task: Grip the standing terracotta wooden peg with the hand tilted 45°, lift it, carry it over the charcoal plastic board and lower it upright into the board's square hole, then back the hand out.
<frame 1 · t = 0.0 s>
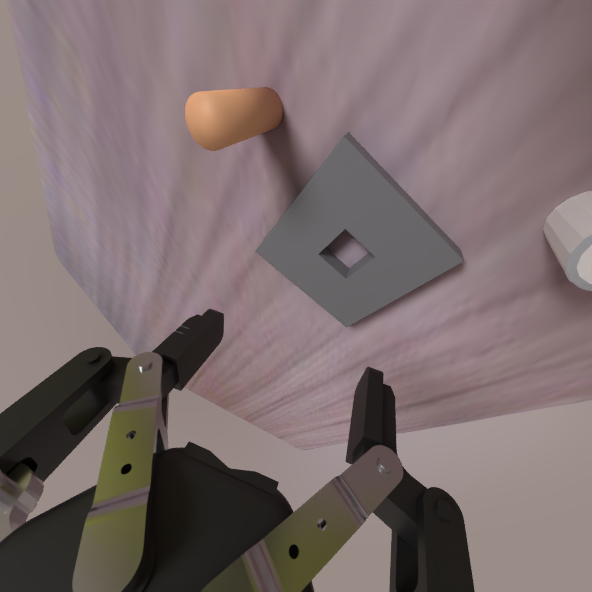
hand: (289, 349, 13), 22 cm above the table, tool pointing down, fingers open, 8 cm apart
peg board: (349, 246, 33), on the table
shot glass: (582, 219, 24), on the table
peg: (266, 109, 26), on the table
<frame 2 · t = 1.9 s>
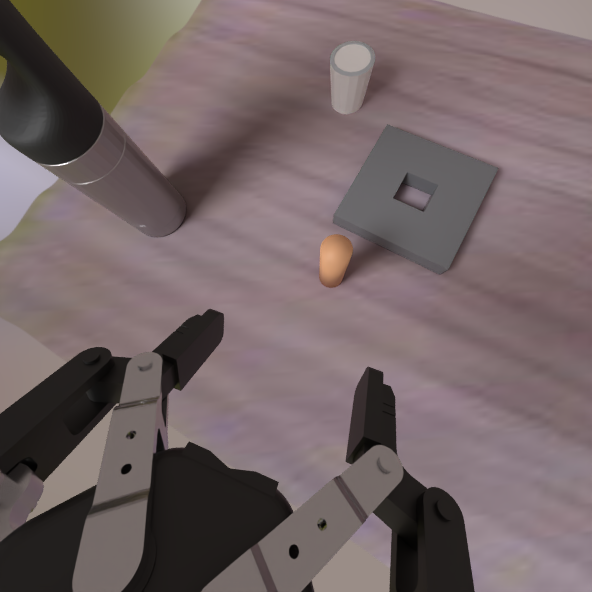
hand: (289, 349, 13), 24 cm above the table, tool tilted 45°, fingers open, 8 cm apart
peg board: (409, 201, 40), on the table
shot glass: (346, 102, 45), on the table
peg: (330, 276, 39), on the table
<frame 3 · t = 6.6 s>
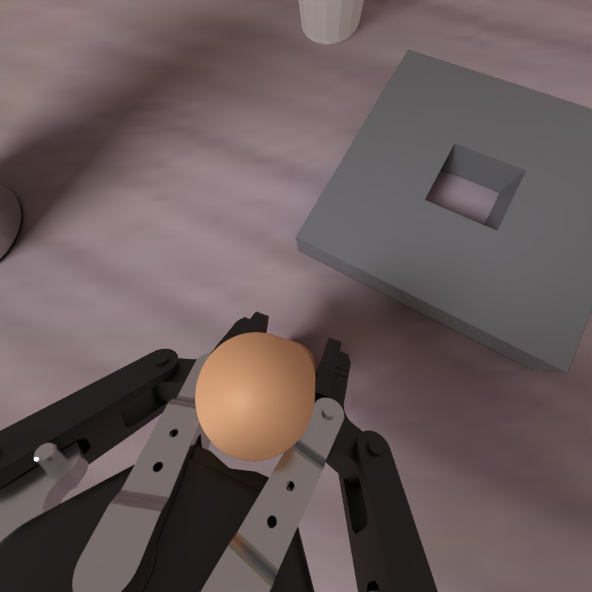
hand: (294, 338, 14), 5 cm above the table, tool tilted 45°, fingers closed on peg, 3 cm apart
peg board: (455, 205, 20), on the table
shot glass: (330, 24, 25), on the table
peg: (291, 367, 18), on the table, touching gripper
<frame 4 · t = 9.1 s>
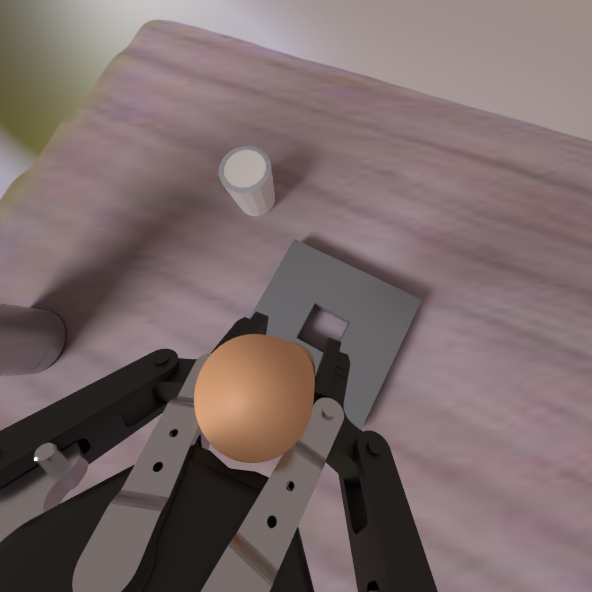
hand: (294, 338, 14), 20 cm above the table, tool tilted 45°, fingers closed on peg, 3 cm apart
peg board: (322, 330, 34), on the table
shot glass: (257, 200, 39), on the table
peg: (290, 367, 18), point 15 cm above the table, touching gripper
when the fingers open (5 cm above the table, at t = 11.9 s): peg stays where it is, resting in peg board.
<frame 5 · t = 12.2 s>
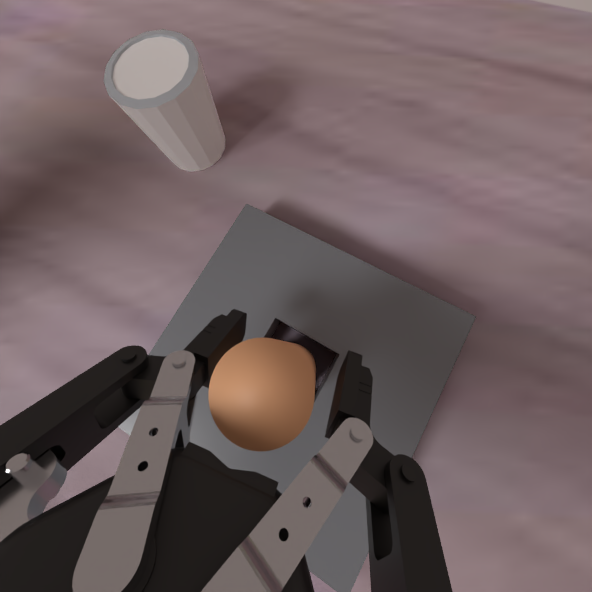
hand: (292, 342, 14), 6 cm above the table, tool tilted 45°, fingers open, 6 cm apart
peg board: (292, 366, 19), on the table
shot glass: (198, 147, 24), on the table
peg: (292, 367, 19), resting in peg board
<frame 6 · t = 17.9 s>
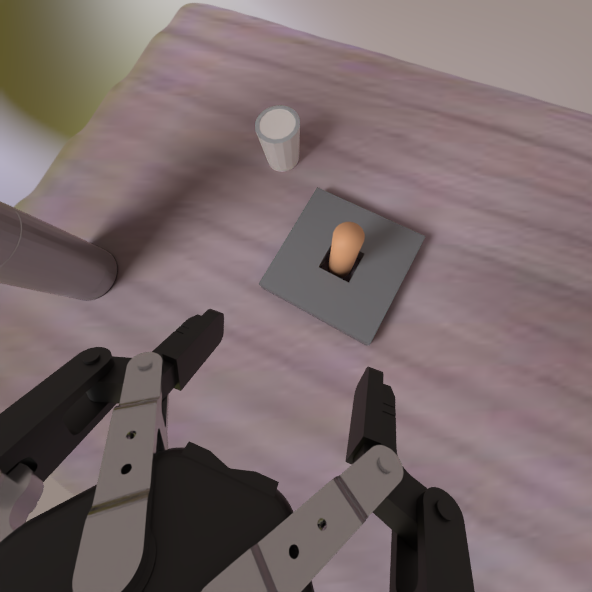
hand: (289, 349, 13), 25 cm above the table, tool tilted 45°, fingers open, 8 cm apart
peg board: (339, 265, 40), on the table
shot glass: (283, 158, 45), on the table
peg: (340, 266, 40), resting in peg board
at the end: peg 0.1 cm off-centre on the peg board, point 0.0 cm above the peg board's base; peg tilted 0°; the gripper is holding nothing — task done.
